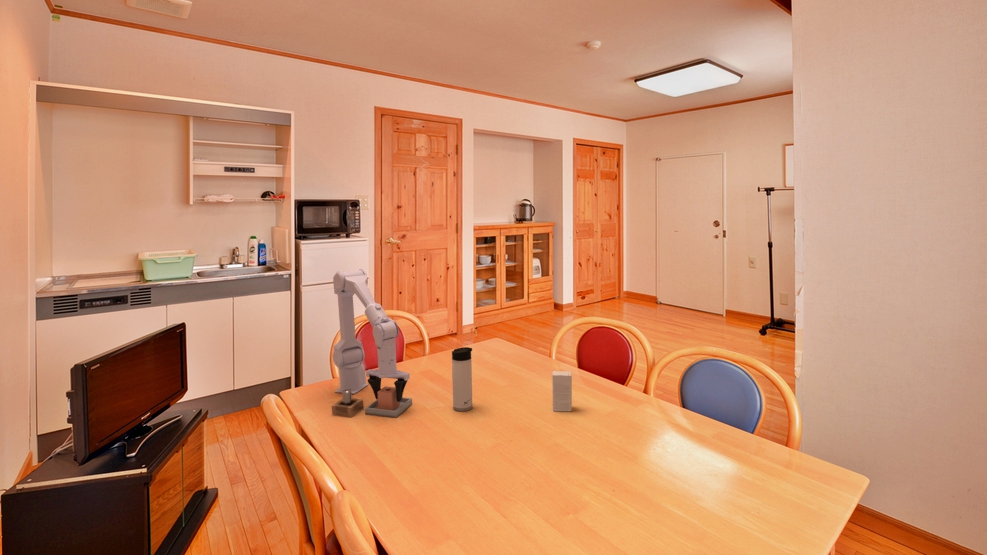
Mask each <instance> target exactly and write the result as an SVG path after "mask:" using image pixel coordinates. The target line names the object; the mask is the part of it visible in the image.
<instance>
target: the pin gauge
mask: <svg viewBox="0 0 987 555" xmlns="http://www.w3.org/2000/svg"><path fill="white" fill-rule="evenodd" d="M341 394H342V399H343V405H345V406H351V405H352V398H353V396H352V395H353V394H352V392H351V389H346V390H343V391H342V393H341Z"/></svg>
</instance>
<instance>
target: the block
mask: <svg viewBox="0 0 987 555" xmlns="http://www.w3.org/2000/svg"><path fill="white" fill-rule="evenodd" d="M399 405H400V402H397V396H396V388H395V386H386V385H385V386H383V387H381V390H379V391H378V409H383V410H392V411H393V410H395V409H396V408H397V407H398V406H399Z"/></svg>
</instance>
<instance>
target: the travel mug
mask: <svg viewBox="0 0 987 555" xmlns="http://www.w3.org/2000/svg"><path fill="white" fill-rule="evenodd" d="M472 351H473V347H468V346H465V347H457V348H455V349H453V350H452V351H451V373H452V376H451V377H452V380H451V381H452V405H453V407H452V408H453V410H455V411H457V412H468V411H471V410H472V409H473V374H472V372H473V371H472V369H473V368H472V366H473V365H472V363H473V361H472Z"/></svg>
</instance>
